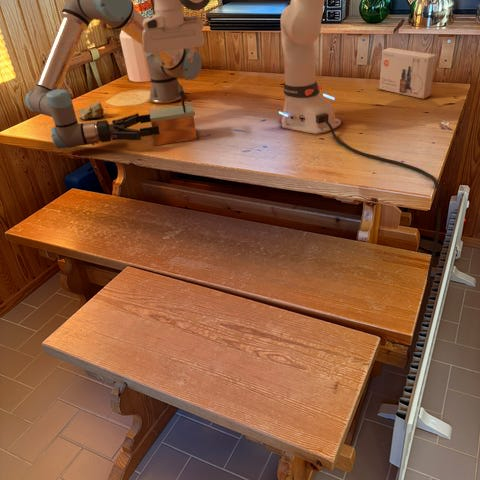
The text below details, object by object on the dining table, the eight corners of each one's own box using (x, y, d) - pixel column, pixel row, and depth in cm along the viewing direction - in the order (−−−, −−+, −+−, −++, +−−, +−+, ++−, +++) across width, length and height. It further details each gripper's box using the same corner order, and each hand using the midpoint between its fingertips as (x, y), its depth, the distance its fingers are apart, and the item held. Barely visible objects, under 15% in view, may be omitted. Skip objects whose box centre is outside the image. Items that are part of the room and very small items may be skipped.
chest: (194, 129, 174) (190, 107, 170) (196, 139, 167) (193, 115, 162) (154, 135, 173) (150, 113, 168) (155, 145, 165) (151, 122, 160)
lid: (192, 107, 170) (188, 82, 165) (195, 115, 162) (191, 90, 157) (150, 113, 168) (145, 88, 163) (151, 122, 160) (146, 96, 155)
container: (160, 81, 233) (149, 21, 217) (121, 82, 238) (108, 23, 222) (174, 69, 249) (165, 13, 233) (138, 70, 254) (126, 15, 238)
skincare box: (377, 89, 194) (381, 50, 185) (385, 86, 197) (389, 47, 188) (423, 99, 180) (429, 56, 171) (430, 95, 183) (437, 53, 174)
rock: (80, 117, 200) (78, 121, 191) (76, 102, 197) (75, 105, 188) (105, 114, 202) (105, 117, 193) (102, 99, 199) (101, 102, 190)
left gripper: (102, 129, 176) (158, 121, 178) (98, 155, 155) (161, 146, 158) (97, 110, 171) (154, 102, 174) (93, 134, 151) (157, 125, 153)
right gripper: (200, 13, 152) (206, 57, 159) (138, 21, 149) (146, 65, 157) (203, 16, 146) (208, 61, 154) (138, 24, 144) (147, 69, 152)
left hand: (158, 123), depth 166 cm, fingers open, 13 cm apart
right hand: (176, 63), depth 156 cm, fingers open, 8 cm apart
